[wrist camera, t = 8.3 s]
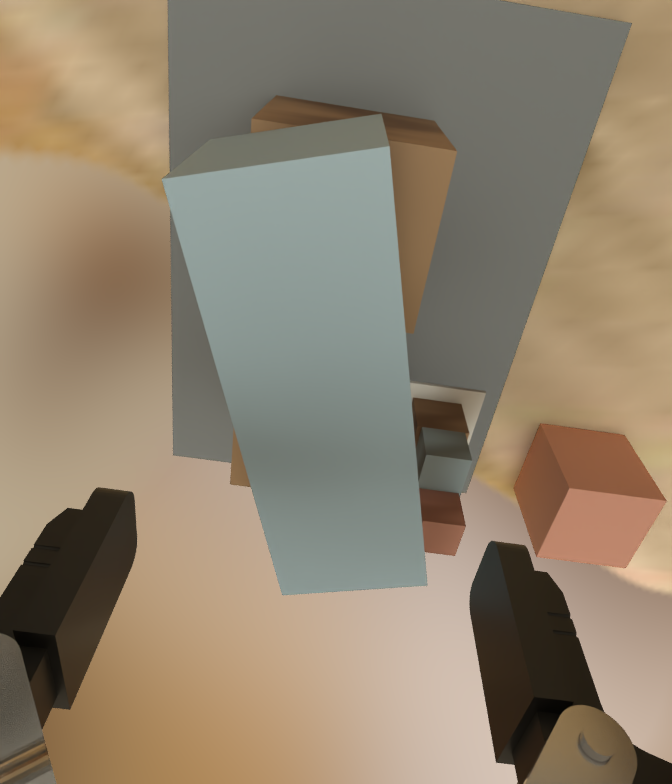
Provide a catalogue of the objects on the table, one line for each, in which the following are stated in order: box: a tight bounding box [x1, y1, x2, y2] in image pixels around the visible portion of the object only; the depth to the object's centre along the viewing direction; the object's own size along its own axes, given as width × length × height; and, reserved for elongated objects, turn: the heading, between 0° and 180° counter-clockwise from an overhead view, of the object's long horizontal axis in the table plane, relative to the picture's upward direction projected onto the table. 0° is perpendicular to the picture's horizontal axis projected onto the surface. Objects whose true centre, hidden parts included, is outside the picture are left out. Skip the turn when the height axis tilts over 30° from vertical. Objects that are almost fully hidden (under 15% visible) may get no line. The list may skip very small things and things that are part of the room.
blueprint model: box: [410, 381, 486, 556], centre depth 27 cm, size 4×7×7 cm, turn 172°
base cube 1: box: [251, 95, 457, 334], centre depth 21 cm, size 6×6×6 cm
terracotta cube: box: [514, 423, 666, 568], centre depth 29 cm, size 4×4×5 cm
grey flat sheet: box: [168, 0, 632, 493], centre depth 26 cm, size 16×22×1 cm
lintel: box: [162, 114, 427, 595], centre depth 18 cm, size 5×14×5 cm, turn 8°
